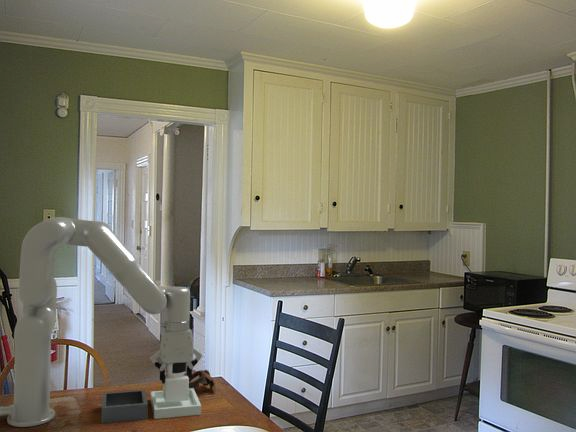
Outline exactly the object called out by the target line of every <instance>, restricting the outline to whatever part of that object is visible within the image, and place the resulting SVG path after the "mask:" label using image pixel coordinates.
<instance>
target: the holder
mask: <svg viewBox="0 0 576 432" xmlns="http://www.w3.org/2000/svg"><path fill="white" fill-rule="evenodd" d="M146 391H147V390H146V389H135V390H122V391H121V390H119V391H111V392H108V391H107V392H102V394H101V395H102V396H101V398H102V399H101V413H100V414H101V416H100V418H101V419H100V420H101V421H100V422H101V424H109V423H120V422H121V423H122V422H130V421H131V422H132V421H140V420H148V412H149V411H148V408H149V406H148V405H149V404H148V398H147V393H146Z"/></svg>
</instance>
